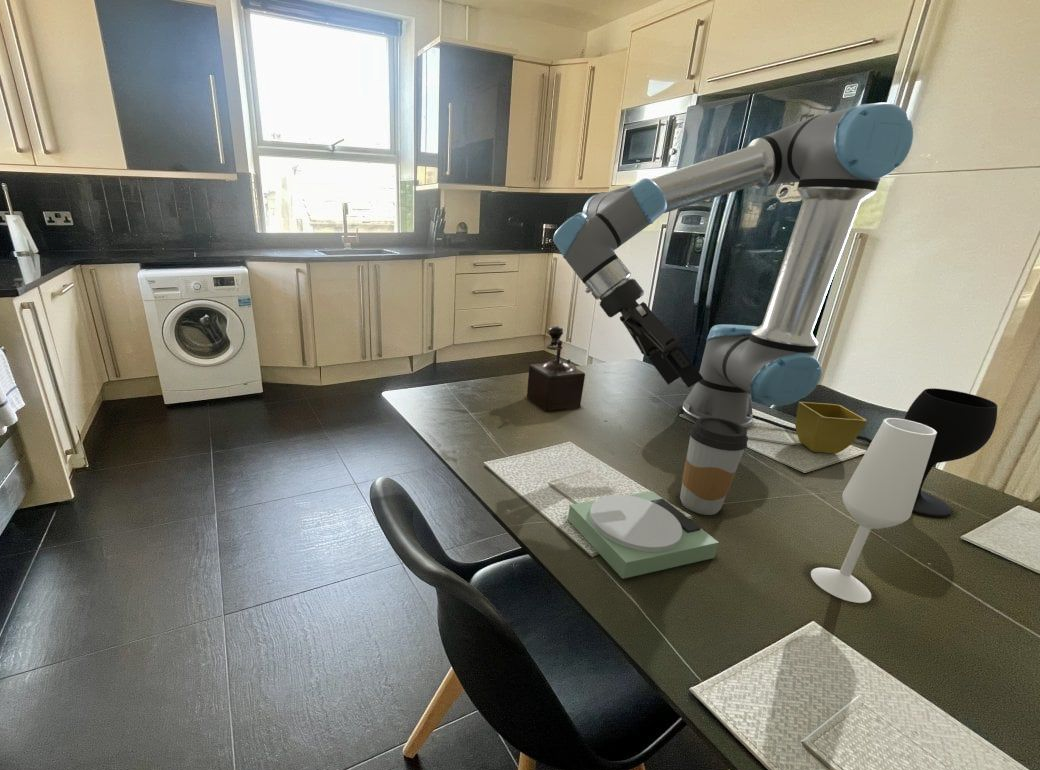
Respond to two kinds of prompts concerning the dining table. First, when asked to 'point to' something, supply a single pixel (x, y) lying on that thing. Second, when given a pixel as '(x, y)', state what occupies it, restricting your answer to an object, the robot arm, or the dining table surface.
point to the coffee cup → (711, 463)
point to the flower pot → (827, 426)
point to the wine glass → (950, 434)
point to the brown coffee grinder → (555, 380)
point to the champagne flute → (880, 496)
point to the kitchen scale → (641, 533)
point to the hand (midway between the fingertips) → (684, 381)
